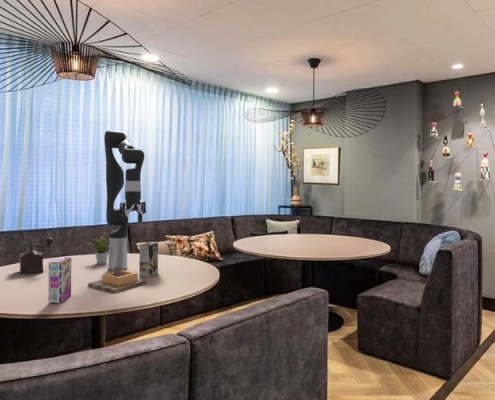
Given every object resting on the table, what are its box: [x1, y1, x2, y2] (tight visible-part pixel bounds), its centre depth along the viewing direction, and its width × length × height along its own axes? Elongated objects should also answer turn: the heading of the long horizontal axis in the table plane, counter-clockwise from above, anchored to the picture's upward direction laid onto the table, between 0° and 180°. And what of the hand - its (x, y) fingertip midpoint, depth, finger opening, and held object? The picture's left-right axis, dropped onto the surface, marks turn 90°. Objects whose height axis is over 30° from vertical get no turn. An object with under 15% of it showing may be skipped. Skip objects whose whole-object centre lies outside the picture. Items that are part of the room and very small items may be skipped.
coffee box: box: [138, 242, 159, 278], centre depth 196 cm, size 9×6×16 cm
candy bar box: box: [48, 256, 72, 305], centre depth 154 cm, size 11×5×16 cm, turn 5°
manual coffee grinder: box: [19, 237, 54, 275], centre depth 200 cm, size 16×11×18 cm
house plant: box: [88, 235, 110, 265], centre depth 224 cm, size 14×14×16 cm
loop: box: [102, 269, 139, 286], centre depth 177 cm, size 11×11×4 cm
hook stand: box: [87, 266, 147, 294], centre depth 176 cm, size 18×18×9 cm
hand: (133, 223), depth 186 cm, fingers open, 8 cm apart
